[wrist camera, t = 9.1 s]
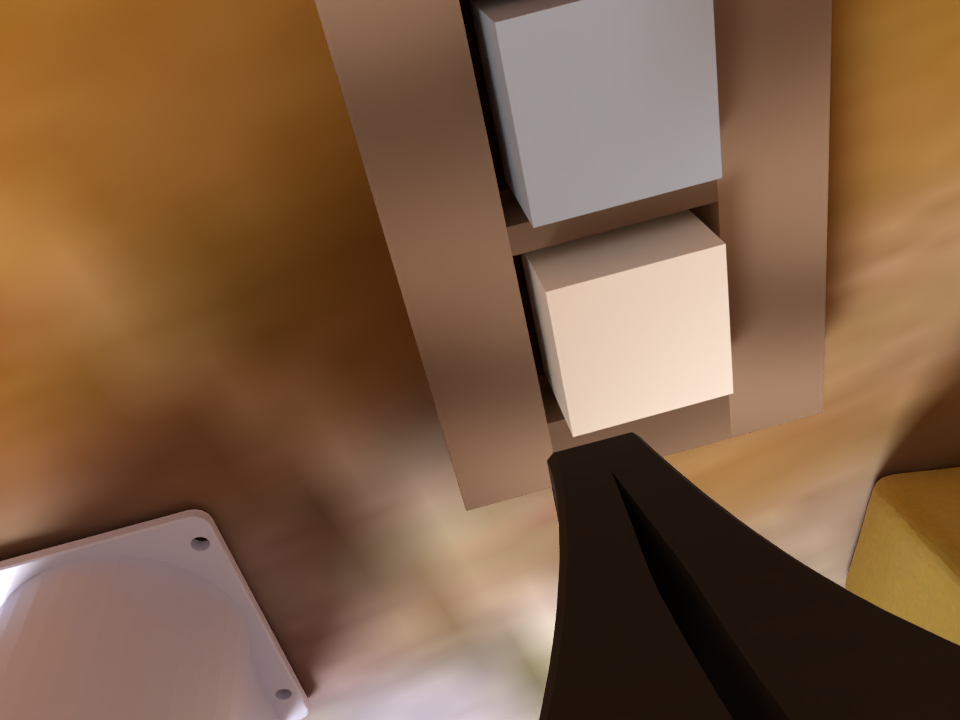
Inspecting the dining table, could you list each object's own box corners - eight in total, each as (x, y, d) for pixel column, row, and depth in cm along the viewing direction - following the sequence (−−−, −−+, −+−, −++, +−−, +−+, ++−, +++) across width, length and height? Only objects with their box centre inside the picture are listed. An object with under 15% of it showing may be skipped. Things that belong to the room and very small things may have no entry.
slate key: (669, 137, 19) (722, 177, 17) (505, 180, 19) (533, 228, 17) (653, -48, 17) (711, -33, 15) (469, -1, 17) (494, 22, 14)
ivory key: (686, 333, 22) (733, 393, 20) (544, 371, 22) (573, 437, 19) (674, 196, 20) (725, 244, 17) (517, 238, 20) (545, 292, 17)
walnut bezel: (784, 370, 24) (823, 412, 22) (454, 460, 24) (466, 510, 22) (774, -629, 13) (847, -709, 11) (176, -487, 13) (152, -546, 11)
